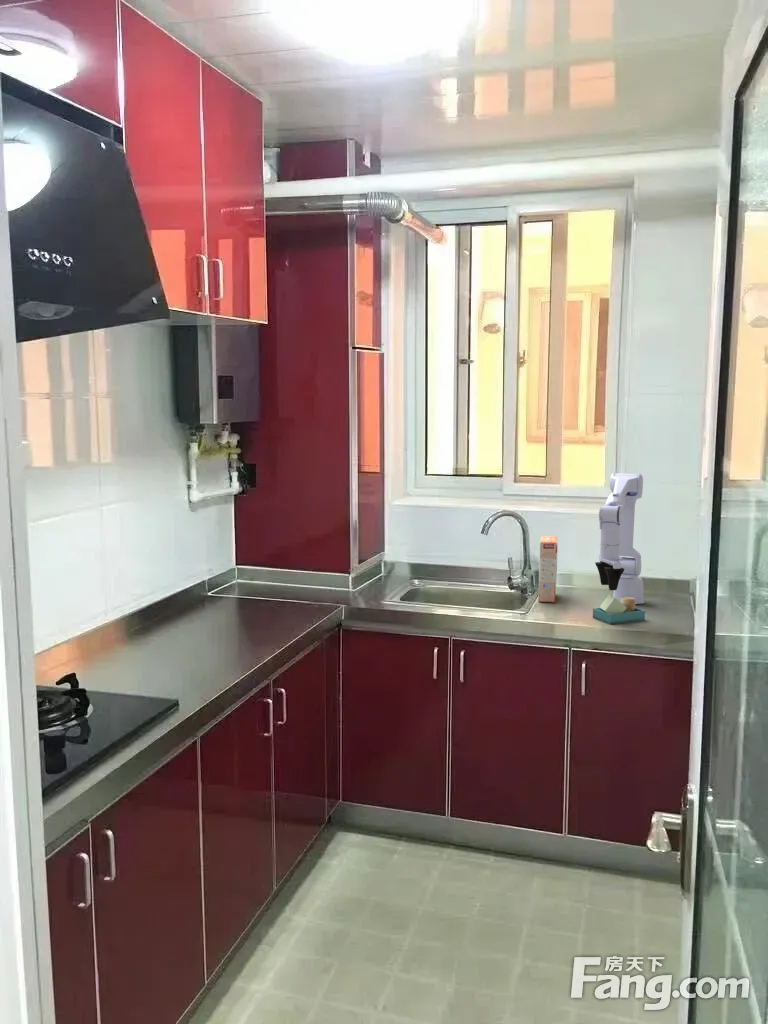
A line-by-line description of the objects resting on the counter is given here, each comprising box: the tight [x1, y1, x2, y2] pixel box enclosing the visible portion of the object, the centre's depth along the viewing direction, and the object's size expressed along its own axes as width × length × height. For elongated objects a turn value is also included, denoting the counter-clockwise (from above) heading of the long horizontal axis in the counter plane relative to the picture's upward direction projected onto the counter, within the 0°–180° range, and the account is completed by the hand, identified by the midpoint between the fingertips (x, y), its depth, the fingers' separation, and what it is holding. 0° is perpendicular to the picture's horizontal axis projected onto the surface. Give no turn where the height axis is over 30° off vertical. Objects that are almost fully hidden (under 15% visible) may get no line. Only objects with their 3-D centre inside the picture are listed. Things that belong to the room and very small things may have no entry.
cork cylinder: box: [621, 597, 636, 613], centre depth 275 cm, size 4×4×6 cm
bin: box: [592, 607, 646, 625], centre depth 274 cm, size 13×9×3 cm
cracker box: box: [538, 535, 558, 603], centre depth 302 cm, size 14×6×21 cm, turn 168°
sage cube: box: [599, 594, 627, 614], centre depth 272 cm, size 5×5×5 cm
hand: (608, 587), depth 272 cm, fingers open, 7 cm apart
